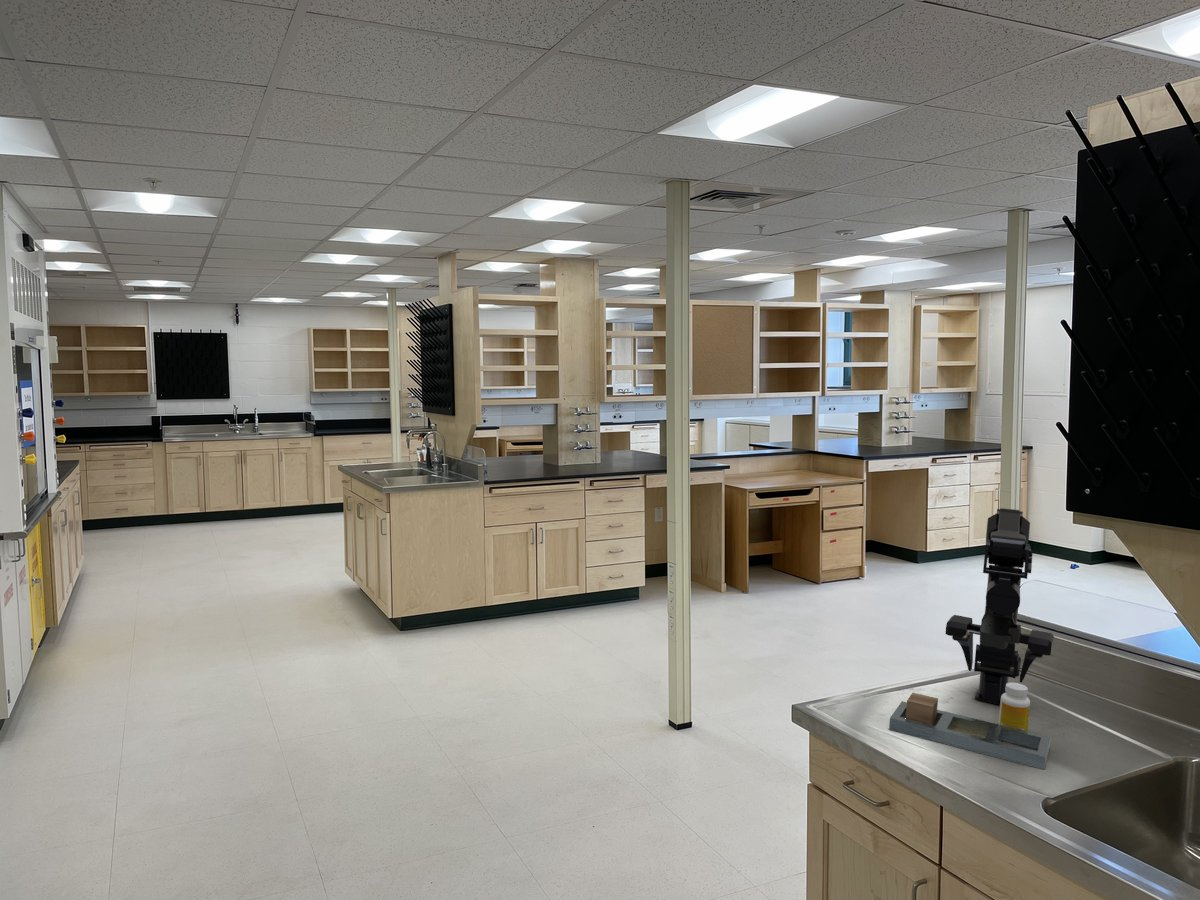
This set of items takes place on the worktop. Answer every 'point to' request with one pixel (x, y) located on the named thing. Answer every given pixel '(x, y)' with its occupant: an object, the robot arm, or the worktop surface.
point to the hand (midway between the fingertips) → (995, 676)
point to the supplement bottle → (1014, 707)
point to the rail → (976, 736)
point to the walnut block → (922, 709)
